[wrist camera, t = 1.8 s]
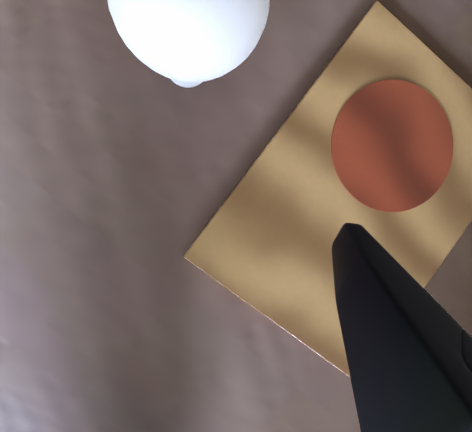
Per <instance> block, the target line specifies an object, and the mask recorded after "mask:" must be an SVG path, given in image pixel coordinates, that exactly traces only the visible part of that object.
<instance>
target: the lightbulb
mask: <svg viewBox="0 0 472 432" xmlns="http://www.w3.org/2000/svg"><path fill="white" fill-rule="evenodd" d="M269 4H270V0H108V6H109V10H110V13H111V15H112V18H113V21H114V23H115V26H116V29H117V31H118V33H119V35H120V36H121V38H122V40H123V41H124V43H125V44H126V46H127V47H128V48H129V49H130V50H131V51H132V53H133V54H134V55H135V56H136V57H137V58H138V59H139V60H140V61H141V62H143V63H144V64H145V65H147V66H148V67H149V68H151V69H152V70H153V71H155V72H157V73H159V74H161V75H163V76H165V77H167V78H170V79H171V80H172V81H173V82H174V83H175V84H177V85H179V86H182V87H187V88H189V87H195V86H197V85H199V84H201V83H202V82H203V81H209V80H212V79H215V78H218V77H221V76H223V75H225V74H226V73H228V72H230V71H231V70H233V69H235V68H236V67H238V66H239V65H240V64H241V63H242V62H243V61H244V60H245V59H246V58H248V56H249V55H250V54H251V52H252V51H253V49H254V48H255V47H256V45H257V43H258V41H259V39H260V37H261V35H262V32H263V30H264V28H265V25H266V21H267V17H268V13H269Z"/></svg>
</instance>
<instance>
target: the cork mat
mask: <svg viewBox="0 0 472 432" xmlns="http://www.w3.org/2000/svg"><path fill="white" fill-rule="evenodd" d="M471 221H472V88H471V87H470V86H469V85H468V84H467V83H465V82H464V81H463V80H462V79H461V78H460V77H459V76H458V75H457V74H456V73H455V72H454V71H453V70H452V69H450V68H449V67H448V66H447V65H446V64H445V63H444V62H443V61H442V60H441V59H440V58H439V57H438V56H437V55H435V54H434V53H433V52H432V51H431V50H430V49H429V48H428V47H427V46H426V45H425V44H424V43H423V42H422V41H420V40H419V39H418V38H417V37H416V36H415V35H414V34H413V33H412V32H411V31H410V30H409V29H408V28H407V27H405V26H404V25H403V24H402V23H401V22H400V21H399V20H398V19H397V18H396V17H395V16H394V15H393V14H392V13H390V12H389V11H388V10H387V9H386V8H385V7H384V6H383V5H382V4H381V3H380V2H379V1H376V2H375V3H374V4H373V5H372V6H371V8H370V9H369V10H368V12H367V13H366V14H365V16H364V17H363V18H362V20H361V21H360V22H359V24H358V25H357V26H356V28H355V29H354V30H353V31H352V33H351V34H350V35H349V37H348V38H347V39H346V41H345V42H344V43H343V45H342V46H341V47H340V49H339V50H338V51H337V53H336V54H335V55H334V57H333V58H332V59H331V61H330V62H329V63H328V65H327V66H326V67H325V69H324V70H323V71H322V73H321V74H320V75H319V77H318V78H317V79H316V81H315V82H314V83H313V85H312V86H311V87H310V89H309V90H308V91H307V93H306V94H305V95H304V96H303V98H302V99H301V100H300V102H299V103H298V104H297V106H296V107H295V108H294V110H293V111H292V112H291V114H290V115H289V116H288V118H287V119H286V120H285V122H284V123H283V124H282V126H281V127H280V128H279V130H278V131H277V132H276V134H275V135H274V136H273V138H272V139H271V140H270V142H269V143H268V144H267V146H266V147H265V148H264V150H263V151H262V152H261V154H260V155H259V156H258V158H257V159H256V160H255V161H254V163H253V164H252V165H251V167H250V168H249V169H248V171H247V172H246V173H245V175H244V176H243V177H242V179H241V180H240V181H239V183H238V184H237V185H236V187H235V188H234V189H233V191H232V192H231V193H230V195H229V196H228V197H227V199H226V200H225V201H224V203H223V204H222V205H221V207H220V208H219V209H218V211H217V212H216V213H215V215H214V216H213V217H212V219H211V220H210V221H209V223H208V224H207V225H206V226H205V228H204V229H203V230H202V232H201V233H200V234H199V236H198V237H197V238H196V240H195V241H194V242H193V244H192V245H191V246H190V248H189V249H188V250H187V252H186V253H185V254H184V258H186V259H187V260H188V261H190V262H191V263H192V264H194V265H195V266H197V267H198V268H199V269H201V270H202V271H203V272H205V273H206V274H208V275H209V276H210V277H212V278H213V279H215V280H216V281H217V282H219V283H220V284H221V285H223V286H224V287H226V288H227V289H228V290H230V291H231V292H233V293H234V294H235V295H237V296H238V297H239V298H241V299H242V300H244V301H245V302H246V303H248V304H249V305H250V306H252V307H253V308H255V309H256V310H257V311H259V312H260V313H262V314H263V315H264V316H266V317H267V318H268V319H270V320H271V321H273V322H274V323H275V324H277V325H278V326H279V327H281V328H282V329H284V330H285V331H286V332H288V333H289V334H291V335H292V336H293V337H295V338H296V339H297V340H299V341H300V342H302V343H303V344H304V345H306V346H307V347H308V348H310V349H311V350H313V351H314V352H315V353H317V354H318V355H320V356H321V357H322V358H324V359H325V360H326V361H328V362H329V363H331V364H332V365H333V366H335V367H336V368H337V369H339V370H340V371H342V372H343V373H344V374H346V375H347V376H349V377H350V372H349V367H348V362H347V357H346V352H345V347H344V342H343V337H342V332H341V327H340V321H339V316H338V311H337V306H336V299H335V288H334V275H333V262H332V244H333V241H334V240H335V238H336V236H337V234H338V233H339V231H340V229H341V227H342V226H343V224H345V223H355V224H360V225H362V226H363V227H364V228H365V229H366V230H367V231H368V232H369V233H370V234H371V235H372V236H373V237H374V238H375V239H376V240H377V241H378V242H379V243H380V244H381V245H382V246H383V247H384V249H385V250H386V251H387V252H388V253H389V254H390V255H391V256H392V257H393V258H394V259H395V260H396V261H397V262H398V263H399V264H400V265H401V266H402V267H403V268H404V269H405V270H406V271H407V272H408V273H409V274H410V275H411V276H412V277H413V278H414V279H415V280H416V281H417V282H418V283H419V284H420V285H421V286H422V287H423V288H425V286H426V285H427V283H428V282H429V280H430V279H431V278H432V276H433V275H434V273H435V272H436V270H437V269H438V268H439V266H440V265H441V263H442V262H443V260H444V259H445V258H446V256H447V255H448V253H449V252H450V250H451V249H452V248H453V246H454V245H455V243H456V242H457V240H458V239H459V238H460V236H461V235H462V233H463V232H464V230H465V229H466V228H467V226H468V225H469V223H470V222H471ZM350 378H351V377H350Z"/></svg>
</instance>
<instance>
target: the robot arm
mask: <svg viewBox="0 0 472 432" xmlns="http://www.w3.org/2000/svg"><path fill="white" fill-rule="evenodd" d="M332 262H333V275H334V288H335V299H336V306H337V311H338V316H339V321H340V327H341V332H342V337H343V342H344V347H345V352H346V357H347V362H348V367H349V372H350V377H351V383H352V388H353V393H354V398H355V403H356V408H357V413H358V418H359V423H360V428H361V432H472V337H471V336H470V335H469V334H468V333H467V332H466V331H465V330H462V327H461V326H460V325H459V324H458V323H457V322H456V321H455V320H454V319H453V318H452V317H451V316H450V315H449V314H448V313H447V312H446V311H445V310H444V309H443V308H442V307H441V306H440V305H439V304H438V303H437V302H436V301H435V300H434V299H433V298H432V296H431V295H430V294H429V293H428V292H427V291H426V290H425V289H424V288H423V287H422V286H421V285H420V284H419V283H418V282H417V281H416V280H415V279H414V278H413V277H412V276H411V275H410V274H409V273H408V272H407V271H406V270H405V269H404V268H403V267H402V266H401V265H400V264H399V263H398V262H397V261H396V260H395V259H394V258H393V257H392V256H391V255H390V254H389V253H388V252H387V251H386V250H385V249H384V247H383V246H382V245H381V244H380V243H379V242H378V241H377V240H376V239H375V238H374V237H373V236H372V235H371V234H370V233H369V232H368V231H367V230H366V229H365V228H364V227H363V226H362V225H360V224H355V223H345V224H343V226H342V227H341V229H340V231H339V233H338V234H337V236H336V238H335V240H334V241H333V244H332Z"/></svg>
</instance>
